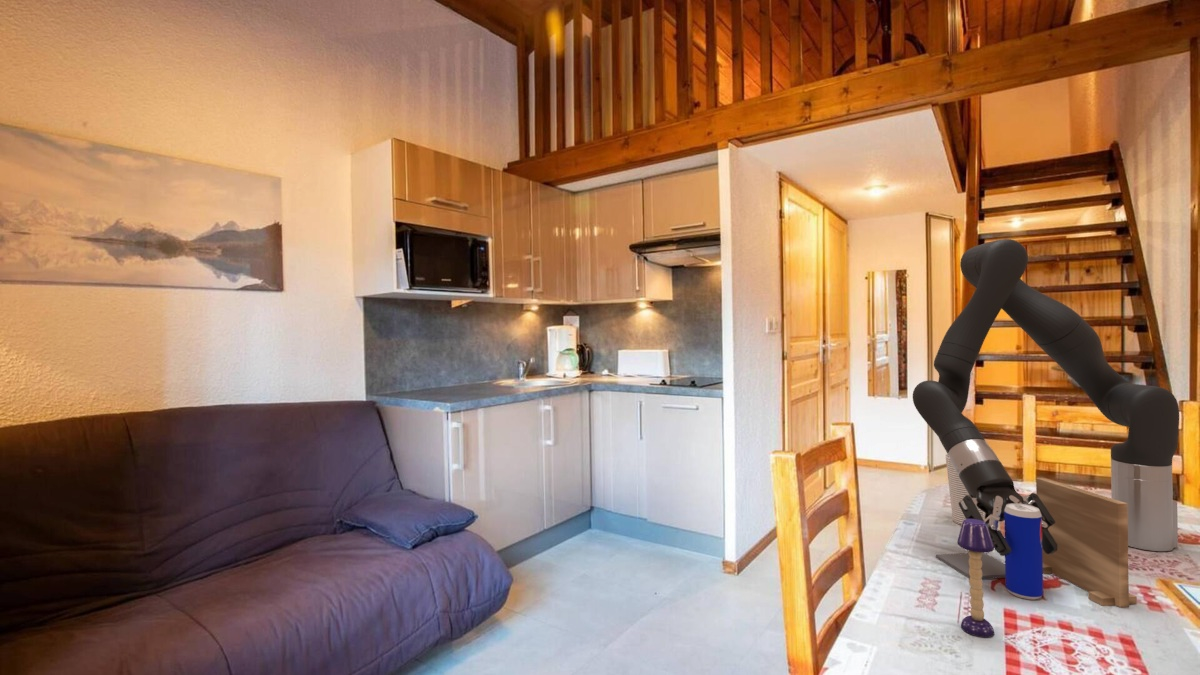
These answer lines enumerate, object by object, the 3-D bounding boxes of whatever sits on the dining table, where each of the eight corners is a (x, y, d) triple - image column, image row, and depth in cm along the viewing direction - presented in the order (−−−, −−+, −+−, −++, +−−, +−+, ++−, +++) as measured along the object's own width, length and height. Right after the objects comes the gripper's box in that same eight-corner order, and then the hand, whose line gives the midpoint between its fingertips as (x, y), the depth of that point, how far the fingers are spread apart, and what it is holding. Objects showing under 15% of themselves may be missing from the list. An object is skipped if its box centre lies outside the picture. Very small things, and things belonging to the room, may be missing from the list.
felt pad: (983, 555, 112) (983, 552, 112) (1023, 576, 102) (1023, 573, 102) (935, 557, 112) (935, 554, 112) (971, 579, 102) (971, 576, 102)
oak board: (1056, 565, 107) (1055, 477, 107) (1141, 606, 91) (1140, 502, 91) (1026, 566, 107) (1025, 478, 106) (1106, 608, 91) (1105, 504, 91)
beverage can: (1049, 601, 93) (1048, 512, 93) (1015, 599, 94) (1013, 511, 94) (1032, 587, 98) (1031, 503, 98) (999, 585, 99) (998, 502, 99)
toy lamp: (951, 622, 88) (949, 516, 87) (979, 620, 88) (977, 515, 88) (974, 639, 83) (972, 527, 83) (1004, 636, 83) (1002, 525, 83)
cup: (950, 526, 129) (949, 459, 128) (943, 515, 136) (942, 452, 136) (994, 530, 125) (993, 462, 125) (984, 518, 133) (983, 454, 133)
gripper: (952, 459, 103) (1001, 545, 92) (1026, 456, 104) (1084, 541, 92) (934, 480, 108) (978, 564, 97) (1004, 477, 109) (1056, 560, 98)
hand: (1029, 553), depth 95 cm, fingers open, 7 cm apart
